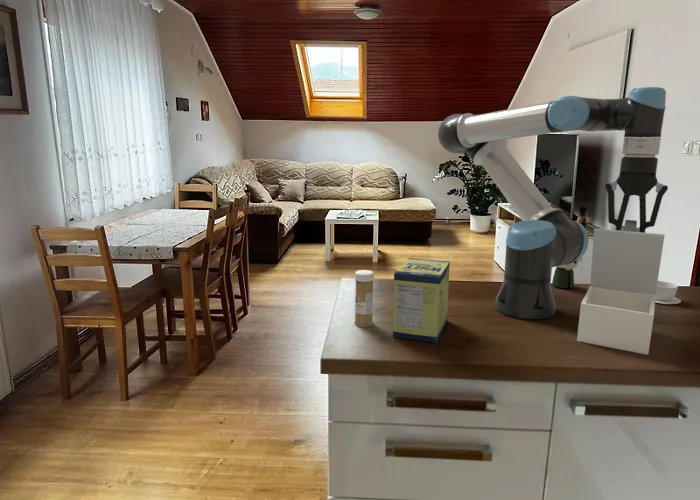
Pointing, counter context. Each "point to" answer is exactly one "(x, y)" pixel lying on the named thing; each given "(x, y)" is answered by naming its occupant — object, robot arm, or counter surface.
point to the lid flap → (626, 259)
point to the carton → (617, 319)
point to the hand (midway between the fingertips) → (627, 253)
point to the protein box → (420, 299)
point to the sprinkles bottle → (364, 298)
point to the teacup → (666, 293)
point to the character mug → (565, 275)
